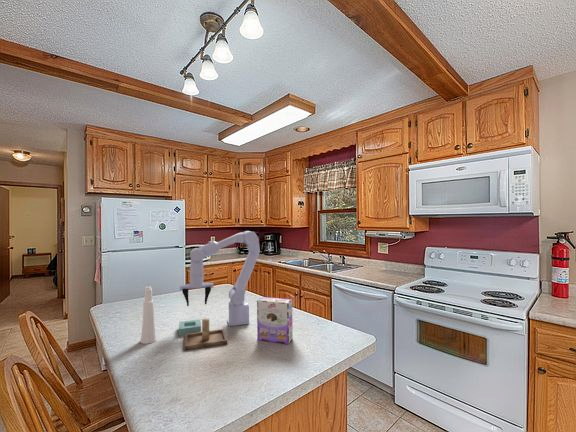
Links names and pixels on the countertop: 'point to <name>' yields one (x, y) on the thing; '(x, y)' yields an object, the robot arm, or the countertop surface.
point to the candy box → (274, 320)
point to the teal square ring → (189, 327)
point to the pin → (205, 329)
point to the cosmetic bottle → (148, 319)
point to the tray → (196, 341)
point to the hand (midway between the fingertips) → (196, 304)
